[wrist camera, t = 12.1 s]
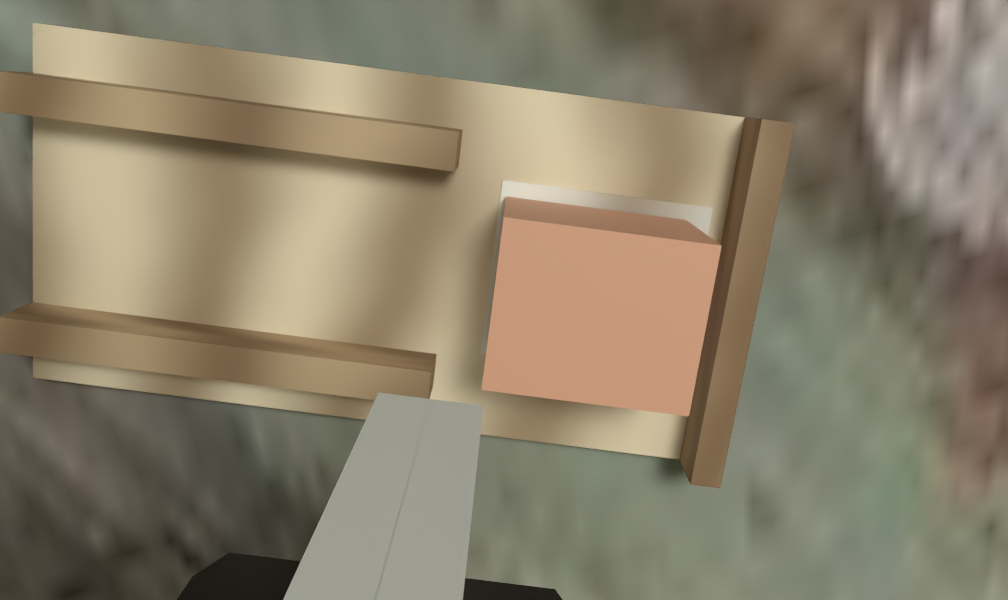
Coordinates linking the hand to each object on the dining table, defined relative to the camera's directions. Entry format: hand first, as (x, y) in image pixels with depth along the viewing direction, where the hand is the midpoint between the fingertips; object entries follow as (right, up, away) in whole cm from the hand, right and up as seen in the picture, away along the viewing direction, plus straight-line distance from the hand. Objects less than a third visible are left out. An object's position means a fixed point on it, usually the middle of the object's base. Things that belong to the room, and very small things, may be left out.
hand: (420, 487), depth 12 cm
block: (+4, +3, +16) cm, 17 cm away
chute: (-3, +4, +17) cm, 18 cm away
